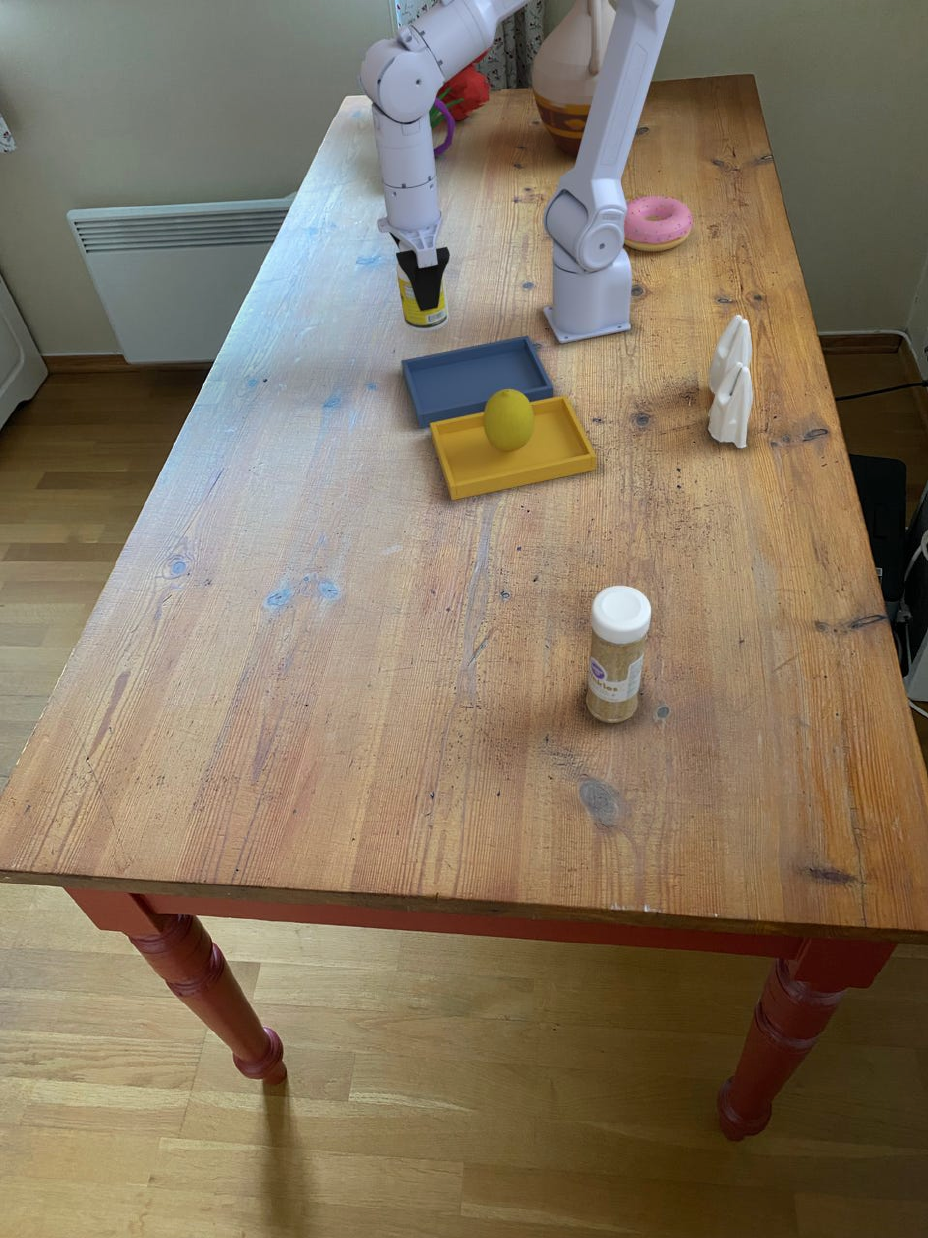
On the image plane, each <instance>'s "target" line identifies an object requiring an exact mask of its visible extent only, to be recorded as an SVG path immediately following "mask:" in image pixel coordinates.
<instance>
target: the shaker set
mask: <svg viewBox="0 0 928 1238" xmlns="http://www.w3.org/2000/svg"><path fill="white" fill-rule="evenodd" d="M750 327H751V326H750V323H749V321H748V320H747V319H746V318H743V317H742V315H740V314H736V315H735V316H733V317H732V318H731V319H730V321H729V322H728V323H727V324H726V326H725V328H724V330H723V332H722V334H721V335H720V337H719V339H718V341H717V343H716V346H715V349H714V353H713V358H712V360H711V363H710V365H709V367H708V369H707V372H708V374H709V378H708V382H707V384H708V386H709V388H710V391H711V392H712V394H713V395H714V398H713V401H712V404H711V406H710V409H709V410H708V413H707V416H708V417H709V421H708V427H707V430H708V431H709V433H710V435H711V437H712V438H713V439H715V440H716V441H718V442H719V443H733V444H734V445H735V446H736V448H737V449H744V448H746V447H747V432H748V423H749V419H750V415H751V410H752V406H753V401H754V390H753V382H752V375H751V371H750V364H751V360H752V357H753V344H752V343H753V342H752V336H751V335H752V334H751V328H750Z"/></svg>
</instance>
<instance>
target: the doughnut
mask: <svg viewBox="0 0 928 1238" xmlns="http://www.w3.org/2000/svg"><path fill="white" fill-rule="evenodd" d="M626 205H627V213H626V216H625V220H624V244H623V245H625V246H626V247H629V248H631V249H633V250H637V251H641V252H662V251H663V252H664V251H666V250H670V249H673V248H675V247H678V246H680V245H681V244H682V243H683V242H685V240H686V239H687V238H688V237H689V235H690V233H691V230H692V229H693V226H694V216H693V213H692V212H691V211H690V209H689V208H688V206H687V205H686V204H685V203H683V201H680V200H678V199H676V198H674V197H673V196H672V197H670V196H669V197H668V196H665V195H664V194H663V195H649V196H648V195H646V196H641V197H637V198H634V199H630V200H629V201H628V202H626Z"/></svg>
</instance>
